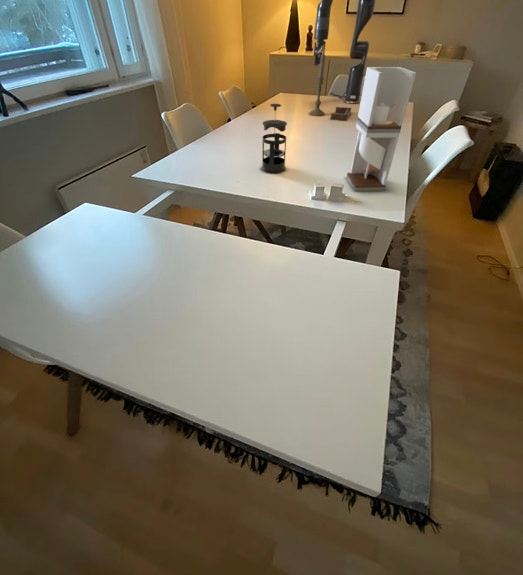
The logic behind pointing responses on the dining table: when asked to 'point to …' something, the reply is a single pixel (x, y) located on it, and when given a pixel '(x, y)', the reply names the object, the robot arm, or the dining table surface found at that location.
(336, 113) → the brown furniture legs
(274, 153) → the french press
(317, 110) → the candlestick holder
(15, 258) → the dining table surface
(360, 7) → the robot arm
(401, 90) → the white architectural model
